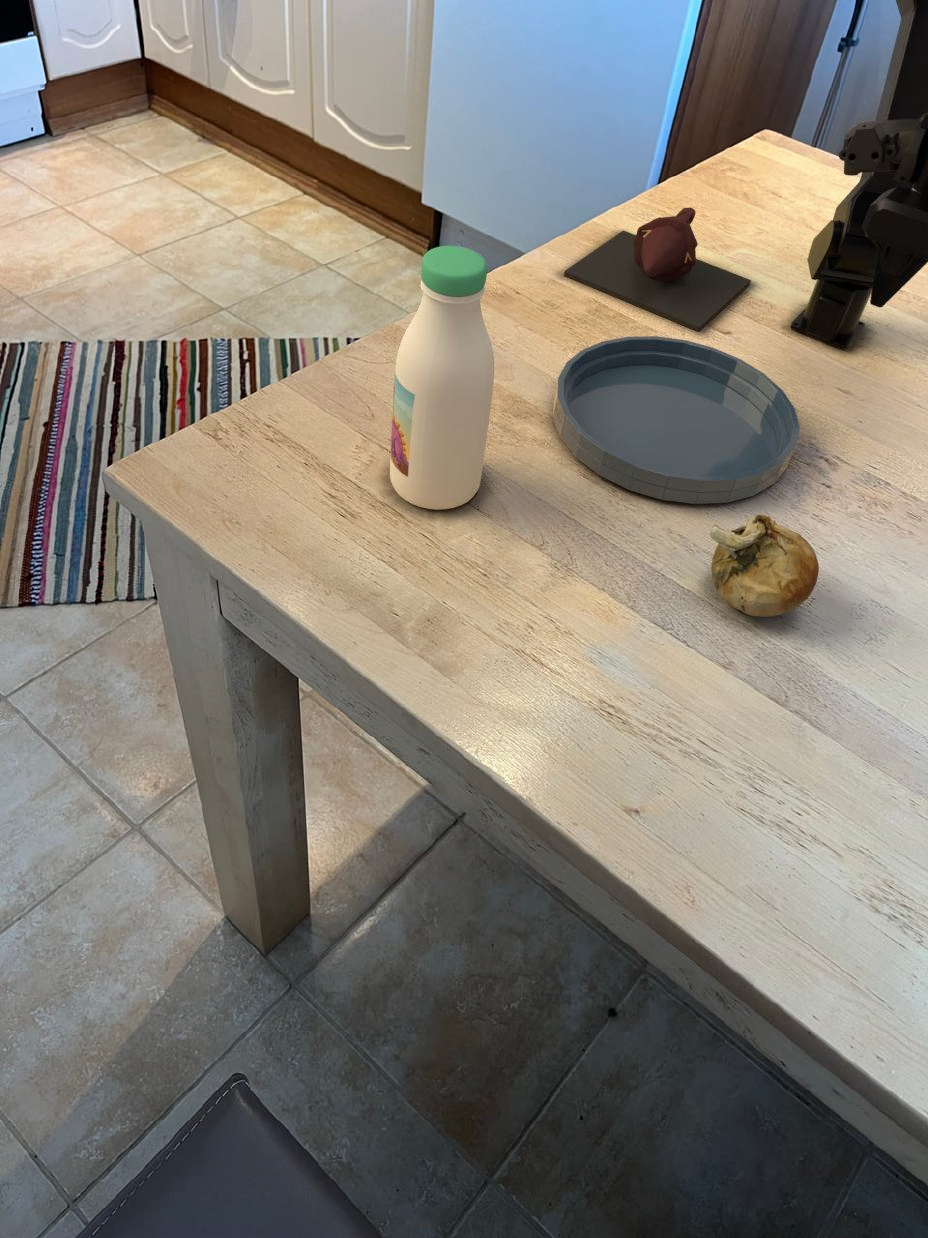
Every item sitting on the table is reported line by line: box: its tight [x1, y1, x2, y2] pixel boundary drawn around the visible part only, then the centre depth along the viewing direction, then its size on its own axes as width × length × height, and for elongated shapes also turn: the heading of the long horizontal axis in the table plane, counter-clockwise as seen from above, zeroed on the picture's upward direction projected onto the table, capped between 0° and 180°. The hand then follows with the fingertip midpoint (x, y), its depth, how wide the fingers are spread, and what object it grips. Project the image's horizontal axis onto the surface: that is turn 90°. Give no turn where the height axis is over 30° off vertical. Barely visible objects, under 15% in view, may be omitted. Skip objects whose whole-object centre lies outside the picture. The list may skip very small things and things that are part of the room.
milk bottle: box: [389, 245, 495, 511], centre depth 73 cm, size 8×8×20 cm
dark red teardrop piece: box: [633, 206, 699, 283], centre depth 105 cm, size 7×7×15 cm
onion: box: [709, 513, 820, 617], centre depth 72 cm, size 8×8×8 cm
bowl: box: [552, 335, 801, 505], centre depth 88 cm, size 22×22×3 cm
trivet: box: [563, 230, 752, 332], centre depth 108 cm, size 14×17×1 cm
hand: (891, 286), depth 87 cm, fingers open, 9 cm apart
